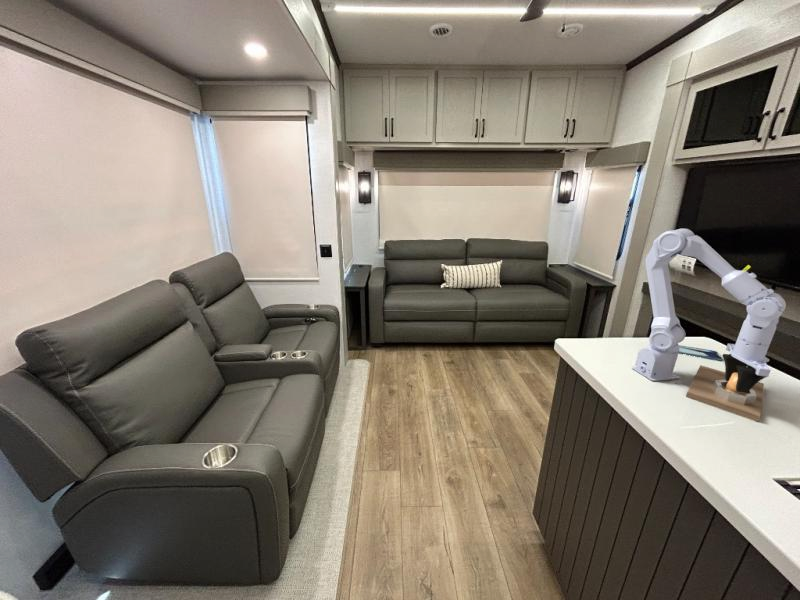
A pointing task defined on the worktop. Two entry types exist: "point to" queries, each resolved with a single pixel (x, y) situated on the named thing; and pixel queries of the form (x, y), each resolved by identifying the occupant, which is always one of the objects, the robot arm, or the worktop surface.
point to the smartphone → (700, 353)
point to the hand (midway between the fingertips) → (735, 386)
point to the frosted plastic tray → (733, 394)
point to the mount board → (704, 393)
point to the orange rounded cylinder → (733, 383)
